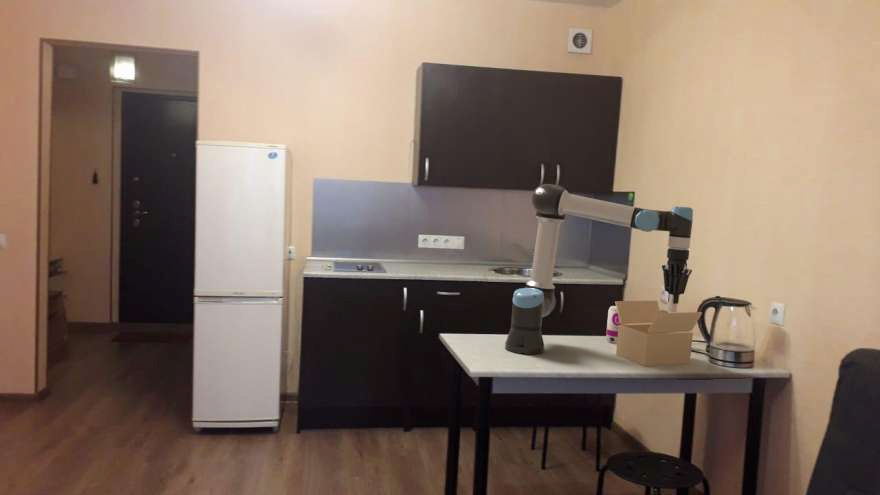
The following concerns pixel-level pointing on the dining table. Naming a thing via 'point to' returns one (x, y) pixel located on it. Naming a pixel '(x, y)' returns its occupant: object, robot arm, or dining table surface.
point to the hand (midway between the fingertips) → (672, 311)
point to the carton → (653, 346)
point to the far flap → (637, 311)
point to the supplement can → (612, 325)
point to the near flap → (674, 322)
